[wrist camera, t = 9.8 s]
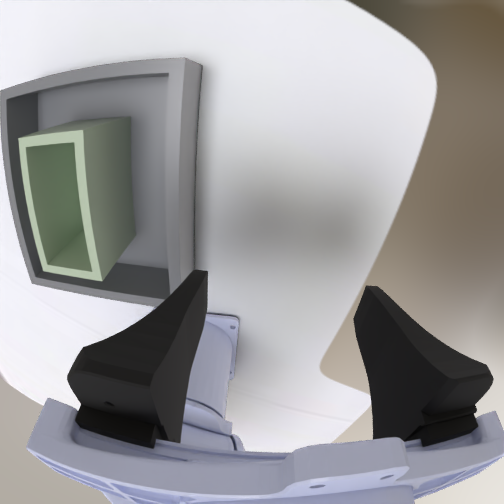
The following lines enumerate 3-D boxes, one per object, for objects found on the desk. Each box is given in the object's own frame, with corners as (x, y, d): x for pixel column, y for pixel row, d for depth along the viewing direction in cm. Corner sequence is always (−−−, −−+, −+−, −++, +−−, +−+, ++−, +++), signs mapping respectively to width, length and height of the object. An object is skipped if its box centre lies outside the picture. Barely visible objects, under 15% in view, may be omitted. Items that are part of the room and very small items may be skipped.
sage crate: (135, 235, 21) (102, 281, 16) (82, 230, 21) (43, 271, 16) (130, 116, 17) (83, 130, 12) (72, 121, 17) (18, 138, 12)
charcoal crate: (194, 274, 24) (182, 310, 20) (56, 256, 24) (31, 283, 20) (202, 65, 16) (185, 57, 12) (37, 85, 16) (0, 90, 12)
